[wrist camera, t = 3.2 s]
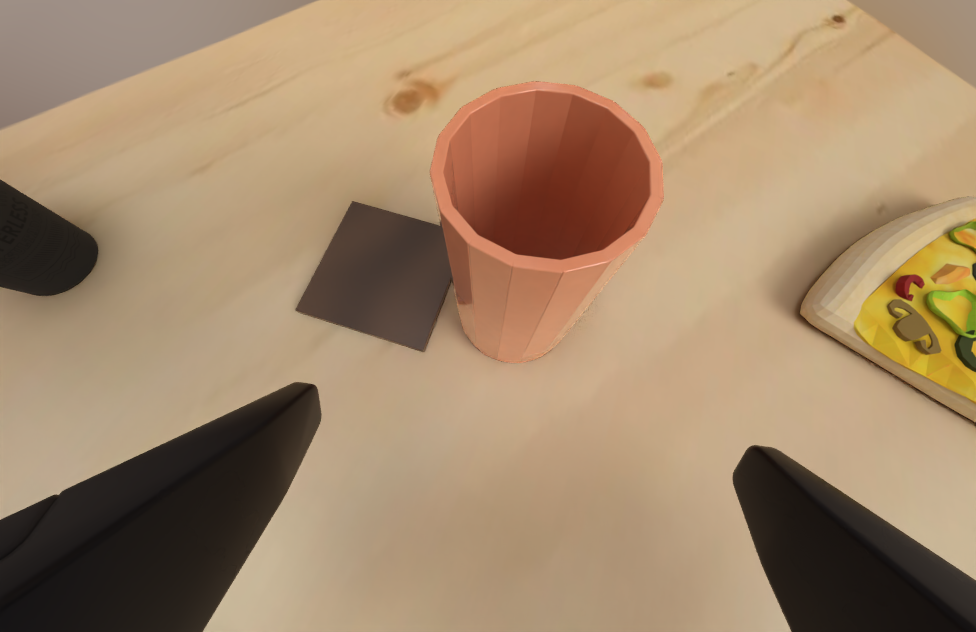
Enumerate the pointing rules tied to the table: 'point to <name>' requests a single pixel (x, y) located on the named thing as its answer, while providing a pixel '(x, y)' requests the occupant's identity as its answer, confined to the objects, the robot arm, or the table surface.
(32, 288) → the drinking cup
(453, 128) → the peach cup
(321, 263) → the walnut coaster
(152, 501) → the robot arm
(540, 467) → the table surface
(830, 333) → the pizza slice
